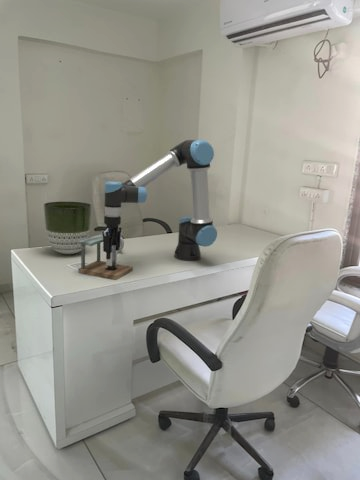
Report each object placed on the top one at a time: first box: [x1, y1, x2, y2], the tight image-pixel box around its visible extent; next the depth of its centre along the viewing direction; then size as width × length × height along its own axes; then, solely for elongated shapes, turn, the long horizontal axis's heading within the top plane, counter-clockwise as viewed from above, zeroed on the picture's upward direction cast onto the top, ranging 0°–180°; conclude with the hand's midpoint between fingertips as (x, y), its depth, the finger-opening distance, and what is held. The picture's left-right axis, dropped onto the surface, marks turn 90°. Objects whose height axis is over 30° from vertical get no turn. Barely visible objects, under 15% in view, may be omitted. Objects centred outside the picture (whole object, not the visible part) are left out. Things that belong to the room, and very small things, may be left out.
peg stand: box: [78, 234, 134, 281], centre depth 175 cm, size 20×16×15 cm
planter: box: [43, 201, 92, 255], centre depth 201 cm, size 24×24×27 cm
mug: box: [117, 232, 125, 254], centre depth 210 cm, size 12×8×11 cm
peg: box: [107, 244, 116, 271], centre depth 174 cm, size 4×4×12 cm
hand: (111, 264), depth 174 cm, fingers closed on peg, 3 cm apart
